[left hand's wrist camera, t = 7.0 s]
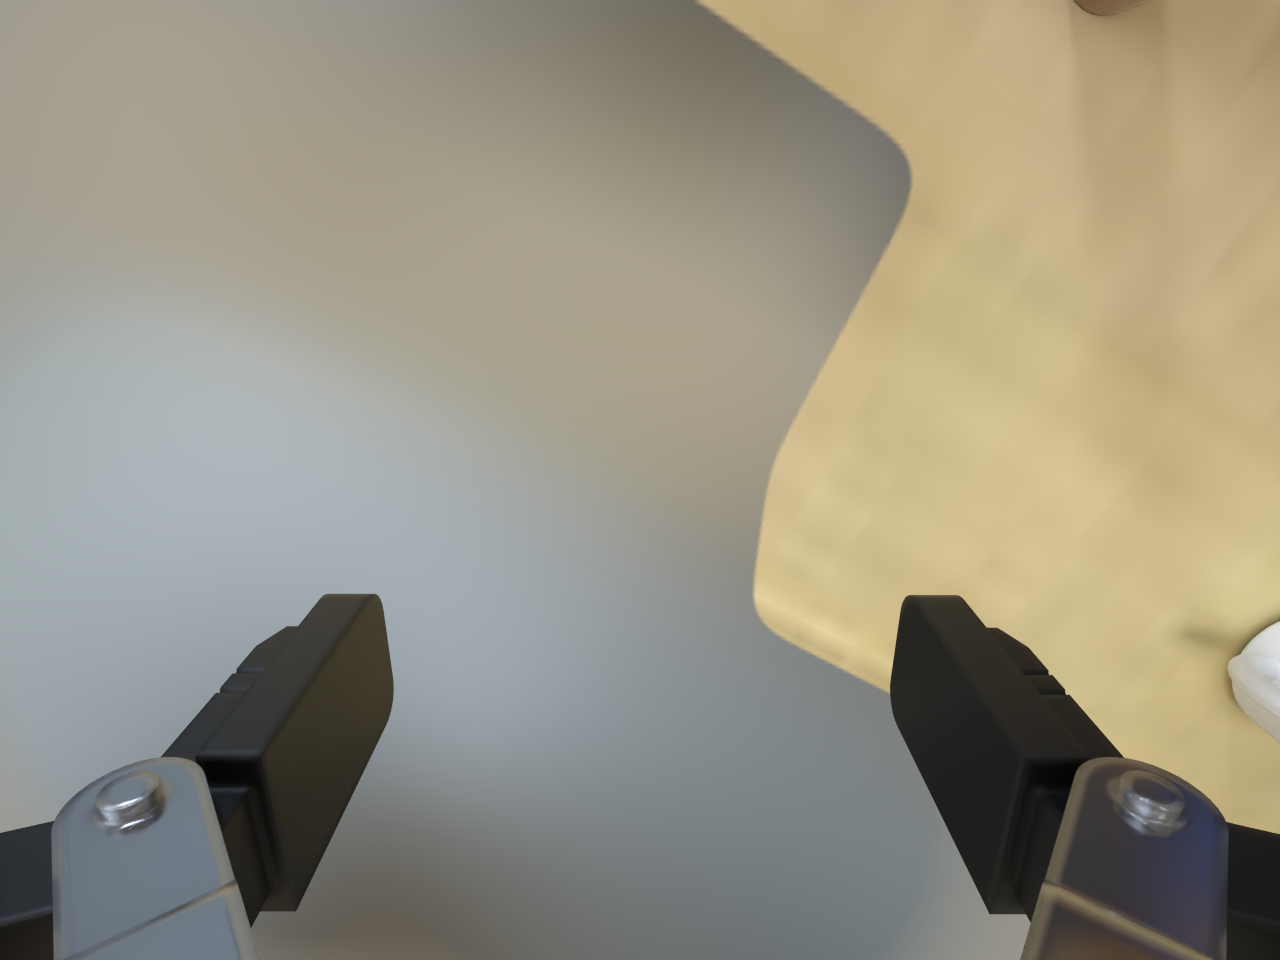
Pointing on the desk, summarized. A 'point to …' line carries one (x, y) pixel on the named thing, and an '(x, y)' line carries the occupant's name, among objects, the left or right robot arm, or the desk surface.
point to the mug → (1259, 680)
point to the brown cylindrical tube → (1108, 5)
